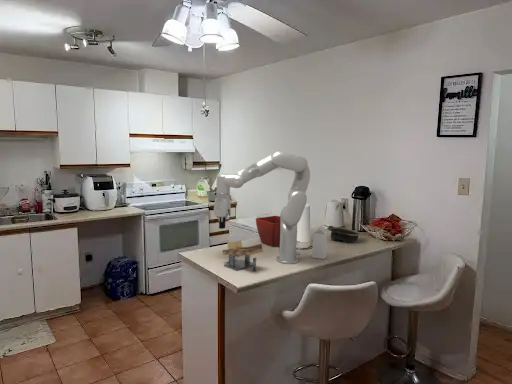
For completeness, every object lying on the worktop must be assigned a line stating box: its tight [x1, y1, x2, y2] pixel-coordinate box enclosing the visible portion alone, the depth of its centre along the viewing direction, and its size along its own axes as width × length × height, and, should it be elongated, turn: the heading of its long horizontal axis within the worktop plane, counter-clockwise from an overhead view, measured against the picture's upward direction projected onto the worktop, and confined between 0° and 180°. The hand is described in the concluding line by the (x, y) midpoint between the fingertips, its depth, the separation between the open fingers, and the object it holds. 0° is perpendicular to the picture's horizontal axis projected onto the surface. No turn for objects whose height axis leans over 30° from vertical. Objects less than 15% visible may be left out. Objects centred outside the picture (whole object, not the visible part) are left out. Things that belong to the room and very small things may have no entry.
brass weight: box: [227, 240, 243, 250], centre depth 196 cm, size 6×5×5 cm
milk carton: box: [311, 224, 328, 260], centre depth 213 cm, size 7×7×19 cm
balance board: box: [222, 243, 264, 256], centre depth 192 cm, size 22×9×4 cm, turn 45°
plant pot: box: [255, 215, 280, 248], centre depth 241 cm, size 19×19×17 cm
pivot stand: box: [223, 255, 257, 272], centre depth 192 cm, size 21×14×7 cm
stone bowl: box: [326, 225, 363, 244], centre depth 256 cm, size 25×25×9 cm
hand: (222, 228), depth 202 cm, fingers closed
